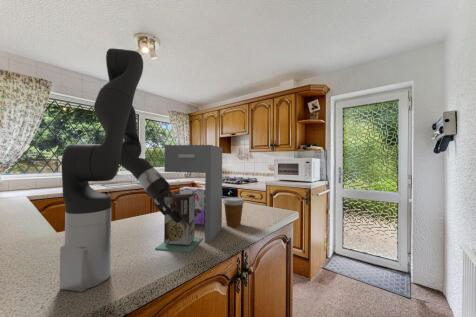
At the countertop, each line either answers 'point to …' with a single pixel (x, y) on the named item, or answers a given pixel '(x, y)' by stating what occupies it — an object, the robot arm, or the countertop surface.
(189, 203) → the coffee box
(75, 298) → the countertop surface
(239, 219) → the disposable coffee cup
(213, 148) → the grey tall hooked frame
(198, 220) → the candy box
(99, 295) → the countertop surface
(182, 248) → the mat
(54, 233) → the countertop surface
